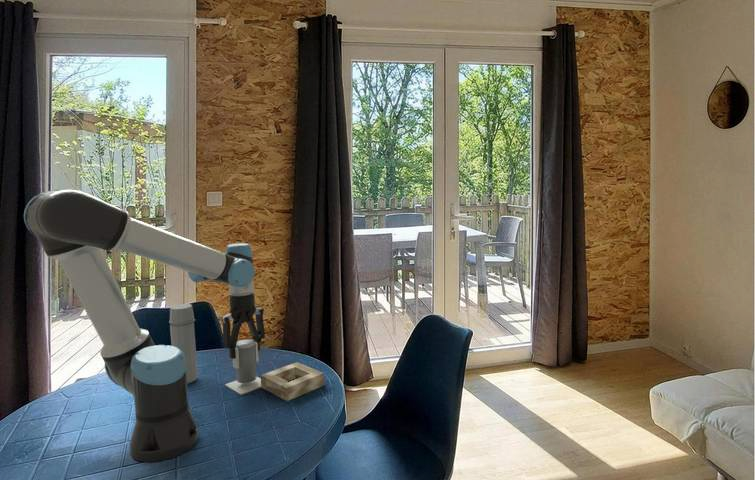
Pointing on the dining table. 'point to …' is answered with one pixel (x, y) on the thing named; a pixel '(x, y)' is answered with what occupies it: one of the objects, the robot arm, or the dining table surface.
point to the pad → (244, 386)
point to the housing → (302, 384)
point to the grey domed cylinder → (246, 361)
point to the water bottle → (184, 336)
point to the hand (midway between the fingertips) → (245, 364)
